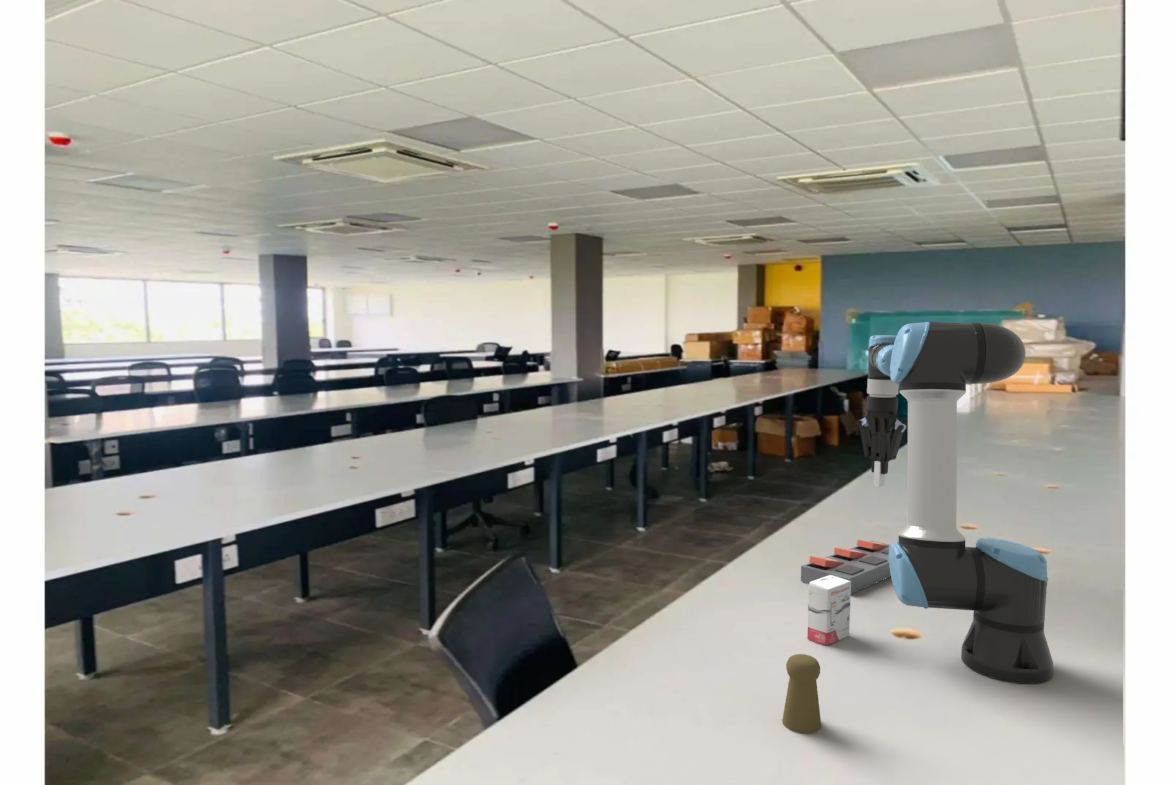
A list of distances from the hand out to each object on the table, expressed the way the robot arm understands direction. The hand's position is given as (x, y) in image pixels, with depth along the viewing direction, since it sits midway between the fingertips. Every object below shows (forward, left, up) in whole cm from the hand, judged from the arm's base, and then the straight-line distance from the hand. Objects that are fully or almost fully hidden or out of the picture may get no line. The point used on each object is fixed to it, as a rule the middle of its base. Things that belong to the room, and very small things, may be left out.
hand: (878, 485), depth 199 cm
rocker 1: (+5, +17, -18) cm, 25 cm away
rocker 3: (+5, -6, -18) cm, 20 cm away
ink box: (-16, +49, -23) cm, 56 cm away
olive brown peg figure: (-32, +83, -23) cm, 92 cm away
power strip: (+1, +1, -23) cm, 23 cm away
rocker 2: (+5, +5, -18) cm, 19 cm away
